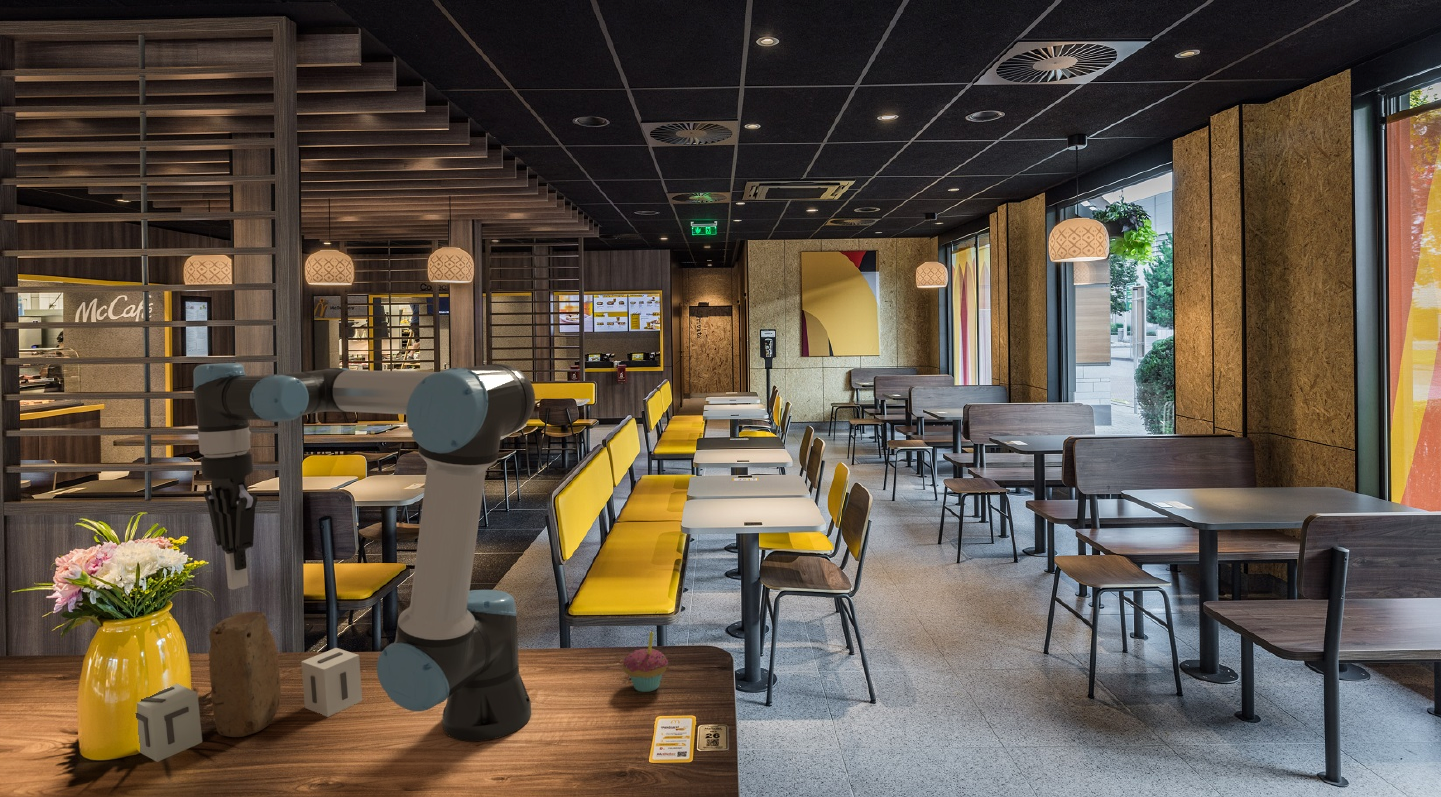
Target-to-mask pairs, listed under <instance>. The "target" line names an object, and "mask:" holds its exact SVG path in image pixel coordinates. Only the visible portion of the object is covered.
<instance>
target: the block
mask: <svg viewBox="0 0 1441 797" xmlns="http://www.w3.org/2000/svg"><path fill="white" fill-rule="evenodd" d="M208 638H209V641H210V647H209V650H208V662H209V663H208V664H209V665H208V666H209V668H208V670H209V681H210V682H209V683H210V688H211V689H210V691H211V692H210V694H211V695H210V696H211V697H210V698H211V703H212V713H213V718H214V722H215V726H216V731H217V733H218V734H219V735H220V736H225V737H230V738H243V737H246V736H249V735H253V734H256V733H258V732H261V731H263V730H264V729H265V728H267V727H268V726H270V724H271V722H272V721H273V720H274V718H275V716H276V714H277V712H278V709H279V705H280V704H281V703H280V702H281V694H282V693H281V692H282V691H281V688H282V687H281V678H280V677H281V674H280V662H279V655H278V649H277V645H276V641H275V637H274V635H273V634H272V631H271V630H270V629H269V624H268V619H267V615H266V614H265V613H264V612H261V611H258V610H256V611H245V612H235V613H234V614H232V615H230V616H229V617H227V618H224V619H222V620H220V621H219V622H218V623H217V624H215V625H214V626H213V627H212V629H210V631H209V633H208Z"/></svg>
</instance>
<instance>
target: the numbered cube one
mask: <svg viewBox="0 0 1441 797" xmlns="http://www.w3.org/2000/svg"><path fill="white" fill-rule="evenodd" d="M360 665H361V664H360V655H359V654H356V653H354V652H350V651H347V650H344V649H341V648H338V647H334V648H332V649H330V650H328V651H324V652H322V653H319V654H317V655H315V656H311V657H309V658H307V659H304V660H302V661H301V665H300V666H301V673H302V675H301V676H302V687H303V688H302V689H303V699H304V709H307V710H310V711H311V712H314V711H315V713H316V712H317V713H316V714H319V713H320V714H319V715H321V714H322V716H324V717H327V718H329V717H331V716H333V715H335V714H338V713H339V711H340V712H342V711H344V710H346V709H349V708H350V707H352V706H355V705H357V704H359V703H361V702H362V701H363V693H362V692H363V690H362V676H361V666H360ZM354 704H355V705H354Z"/></svg>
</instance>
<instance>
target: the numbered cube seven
mask: <svg viewBox="0 0 1441 797" xmlns="http://www.w3.org/2000/svg"><path fill="white" fill-rule="evenodd" d="M174 684H175V685H173V684H172V685H173V686H171V685H170V686H171V687H170V688H167V689H164V690H162V691H159V692H158V693H156V694H154V695H152V696H150V697H146V698H144V699H141V701H140V702H137V713H135V714H136V718H137V720H138V735H139V743H140V752H139V753H140V754H142V755H143V756H146V757H147V758H149V759H152V761H155V762H157V763H158V762H160V761H163V760H165V759H167V758H170V757H172V756H174V755H177V754H178V753H181V752H183V751H186V750H188V749H190V748H194V747H195V746H197V745H200V744H201V743H203V735H202V728H201V727H202V725H201V715H200V706H199V705H200V704H199V696H198V691H195V690H193V689H192V688H191V689H190V688H188V687H186V686H184V685H181V684H179V683H174Z"/></svg>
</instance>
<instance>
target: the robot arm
mask: <svg viewBox="0 0 1441 797" xmlns="http://www.w3.org/2000/svg"><path fill="white" fill-rule="evenodd" d="M192 392H193V394H194V395H193V396H194V403H195V413H196V423H197V439H198V448H199V454H201V455H203V456H202V457H201V458H200V467H201V476H202V478H203V479H204V480H209V481H211V483H210V490H205V491H203V497H204V499H205V501H206V504H207V509H208V513H209V517H210V521H211V522H210V523H211V528H212V531H213V536H214V539H215V544H216V546H218V547H219V546H221V549H222V551H223V552H224V557H225V559H224V560H225V568H226V579H227V581H226V582H227V588H228V589H229V590H232V591H234V590H236V589H240V588H243V587H246V586H247V587H248V586H249V576H248V565H247V552H246V551H247V550H248V549H251V548H253V546H254V536H255V516H256V515H255V514H256V506H257V504H258V496H257V495H256V494H252V495H250V494H249V492H248V489H249V487H248V484H247V480H246V477H247V476H249V475H251V474H252V473H254V472H253V471H254V467H253V466H254V465H253V455H252V453H251V452H249V450H250V449H252V448H251V447H252V446H251V435H252V432H251V430H250V422H249V421H264V422H265V421H267V422H272V423H279V422H287V421H289V422H290V421H294V420H297V419H298V418H299V417H301V416H305V415H310V414H316V413H323V412H325V413H327V412H336V413H337V412H338V413H339V412H340V413H341V412H342V413H344V412H345V413H346V412H347V413H348V412H350V413H371V414H389V415H390V414H391V415H405V416H406V417H405V418H406V424H407V427H408V430H409V431H411V432H412V434H411V437H412V438H413V440H414V441H415V442H416V443H417V444H418V452H417V453H418V456H420V457H421V459H422V460H424V461H425V463H426V471H425V472H426V474H425V482H424V489H423V499H422V506H421V513H420V514H421V515H420V523H419V530H418V539H417V547H416V554H415V555H416V556H415V563H414V571H413V581H412V589H411V597H410V604H409V607H407V608H405V609H404V610H403V611H402V612H400V614H399V615H398V619H397V627H396V633H395V639H394V642H391V643H390V644H388V645H387V646H385V648H384V649H383V650H382V651H381V652H380V654H379V655H378V658H377V662H376V673H377V678H378V682H379V684H380V686H381V688H382V689H383V691H384V692H385V693H386V694H387V697H389V699H390V700H391V701H392V702H394V703H395V704H396V705H397V706H399V707H401V708H403V709H404V710H407V711H411V712H426V711H428V710H430V709H432V708H434V707H436V706H437V705H439V704H442V703H443V702H445V701H446V704H445V706H444V708H443V712H442V717H441V718H442V728H443V732H444V733H445V734H446V735H447V736H448V737H450V738H453V739H455V740H459V741H465V742H479V741H480V742H482V741H490V740H495V739H498V738H499V739H500V738H502V737H505V736H508V735H510V734H513V733H515V732H516V731H518V730H520V729H522V728H523V727H525V725H526V724H527V723H528V722H529V721H530V719H531V717H532V702H531V698H530V696H529V694H528V691H527V689H526V686H525V683H524V681H523V679H522V676H521V674H520V664H519V642H518V626H517V622H518V621H517V616H518V613H517V608H516V602H515V598H514V597H513V595H511V594H510V593H508V592H507V591H504V590H503V591H502V590H495V589H475V590H474V589H472V590H470V588H471V583H472V574H473V568H474V567H473V566H474V560H475V553H476V545H477V539H478V530H479V523H480V522H479V521H480V516H481V508H482V502H483V492H484V486H485V479H486V472H487V469H489V468H490V467H492V466H493V465H494V464H495V463H497V461H498V458H499V450H500V446H501V445H500V444H501V440H502V438H501V437H505V436H507V435H510V434H513V433H515V432H517V431H519V430H520V429H522V428H523V427H524V426H525V425H526V424H527V423H528V421H529V420H530V418H531V417H532V415H533V413H534V409H535V406H536V393H535V390H534V386H533V384H532V382H531V381H530V379H529V377H528V376H527V375H526V374H525V373H524V372H523V371H521V370H520V369H518V368H517V367H515V366H512V365H509V364H504V363H492V364H491V363H490V364H484V365H474V366H466V367H458V366H457V367H450V368H447V369H443V370H441V371H408V370H407V371H405V370H402V371H401V370H366V369H365V370H362V369H361V370H360V369H359V370H358V369H350V368H346V367H329V368H325V369H319V370H309V371H298V372H285V373H278V374H268V375H263V374H262V375H247V374H246V372H245V368H244V365H243V364H242V363H238V362H219V363H206V364H200V365H197V366H196V367H194V369H193V388H192Z"/></svg>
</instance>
